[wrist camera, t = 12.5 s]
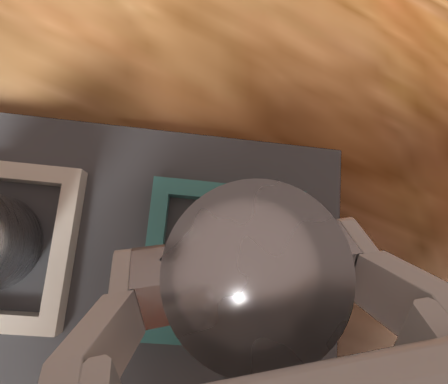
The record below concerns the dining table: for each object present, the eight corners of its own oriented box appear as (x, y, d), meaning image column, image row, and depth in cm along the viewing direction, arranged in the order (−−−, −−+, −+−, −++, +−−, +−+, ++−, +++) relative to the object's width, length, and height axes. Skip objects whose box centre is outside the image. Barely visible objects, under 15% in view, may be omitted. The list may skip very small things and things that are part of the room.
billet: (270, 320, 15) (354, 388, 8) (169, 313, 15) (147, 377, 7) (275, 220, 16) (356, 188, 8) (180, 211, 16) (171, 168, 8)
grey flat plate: (324, 396, 18) (345, 419, 16) (-151, 371, 16) (-212, 393, 14) (330, 157, 20) (349, 144, 18) (-82, 112, 19) (-124, 91, 16)
